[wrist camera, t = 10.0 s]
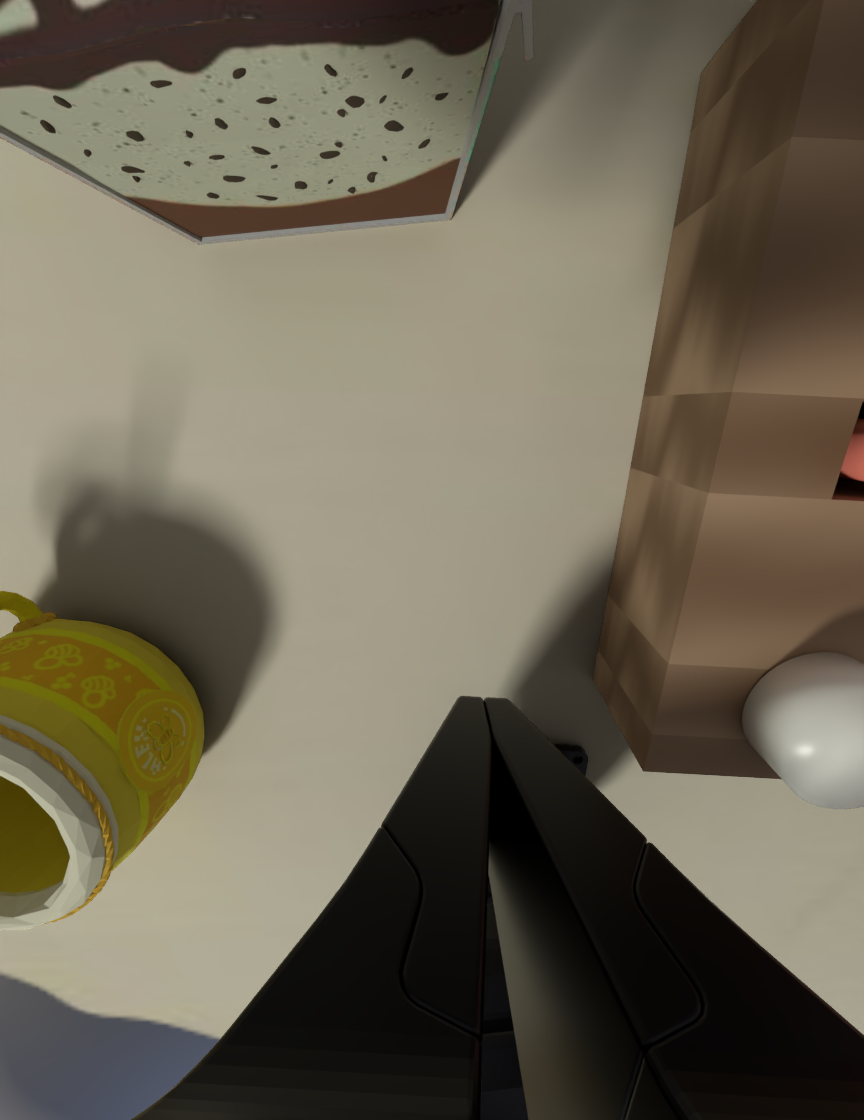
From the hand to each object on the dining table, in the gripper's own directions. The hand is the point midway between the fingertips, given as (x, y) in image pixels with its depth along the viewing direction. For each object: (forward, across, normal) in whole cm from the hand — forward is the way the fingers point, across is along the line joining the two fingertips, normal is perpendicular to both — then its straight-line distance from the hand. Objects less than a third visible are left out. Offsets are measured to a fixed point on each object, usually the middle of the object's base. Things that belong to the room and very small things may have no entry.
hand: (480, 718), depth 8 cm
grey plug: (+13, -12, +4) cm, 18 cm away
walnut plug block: (+13, -12, -4) cm, 18 cm away
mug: (+13, +17, +9) cm, 23 cm away
